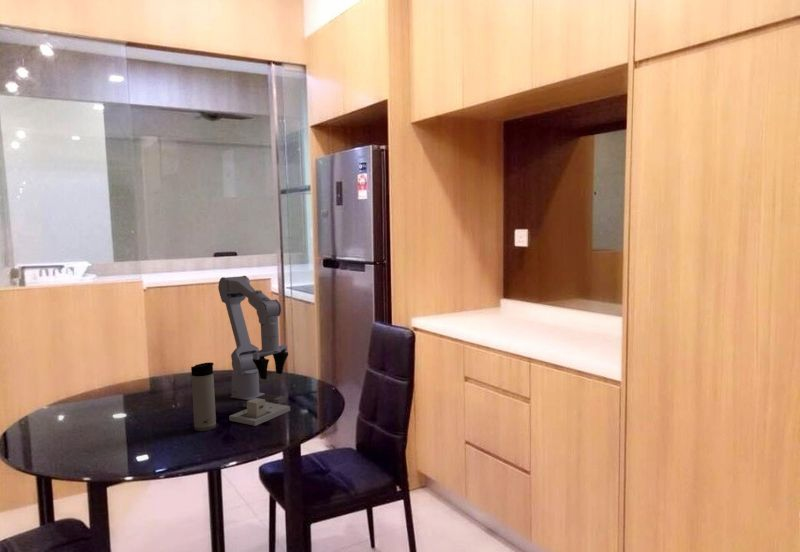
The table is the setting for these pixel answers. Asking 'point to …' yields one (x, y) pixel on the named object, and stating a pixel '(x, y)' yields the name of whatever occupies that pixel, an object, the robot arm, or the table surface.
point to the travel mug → (203, 397)
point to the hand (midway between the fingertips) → (271, 376)
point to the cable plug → (279, 400)
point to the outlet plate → (271, 412)
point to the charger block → (256, 407)
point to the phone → (267, 399)
